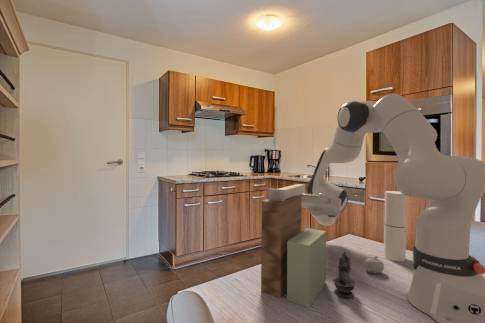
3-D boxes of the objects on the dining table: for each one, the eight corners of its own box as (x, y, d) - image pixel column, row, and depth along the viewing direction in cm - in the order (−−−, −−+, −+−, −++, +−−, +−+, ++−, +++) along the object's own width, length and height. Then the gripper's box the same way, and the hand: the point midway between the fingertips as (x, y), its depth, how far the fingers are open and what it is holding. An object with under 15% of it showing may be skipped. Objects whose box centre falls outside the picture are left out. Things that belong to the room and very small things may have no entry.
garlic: (378, 268, 90) (378, 253, 90) (386, 275, 84) (387, 260, 84) (360, 268, 90) (361, 253, 90) (367, 275, 85) (368, 259, 85)
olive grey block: (325, 283, 79) (326, 231, 79) (308, 307, 67) (309, 245, 66) (306, 278, 83) (307, 228, 82) (286, 300, 70) (287, 241, 70)
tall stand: (300, 276, 84) (301, 195, 83) (280, 297, 71) (280, 203, 71) (283, 271, 87) (284, 194, 86) (261, 291, 75) (261, 200, 74)
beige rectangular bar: (308, 192, 90) (308, 183, 90) (283, 201, 73) (283, 190, 73) (295, 191, 93) (295, 182, 93) (268, 199, 76) (268, 188, 76)
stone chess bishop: (351, 289, 76) (352, 248, 76) (358, 300, 70) (359, 256, 70) (330, 287, 77) (331, 247, 76) (335, 298, 71) (336, 255, 70)
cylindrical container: (379, 255, 102) (380, 191, 101) (393, 253, 104) (394, 190, 103) (395, 262, 95) (396, 194, 94) (410, 260, 97) (411, 193, 96)
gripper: (296, 197, 115) (285, 184, 105) (345, 202, 104) (337, 188, 94) (293, 210, 113) (281, 198, 103) (342, 217, 101) (335, 205, 91)
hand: (309, 194), depth 98 cm, fingers open, 8 cm apart
